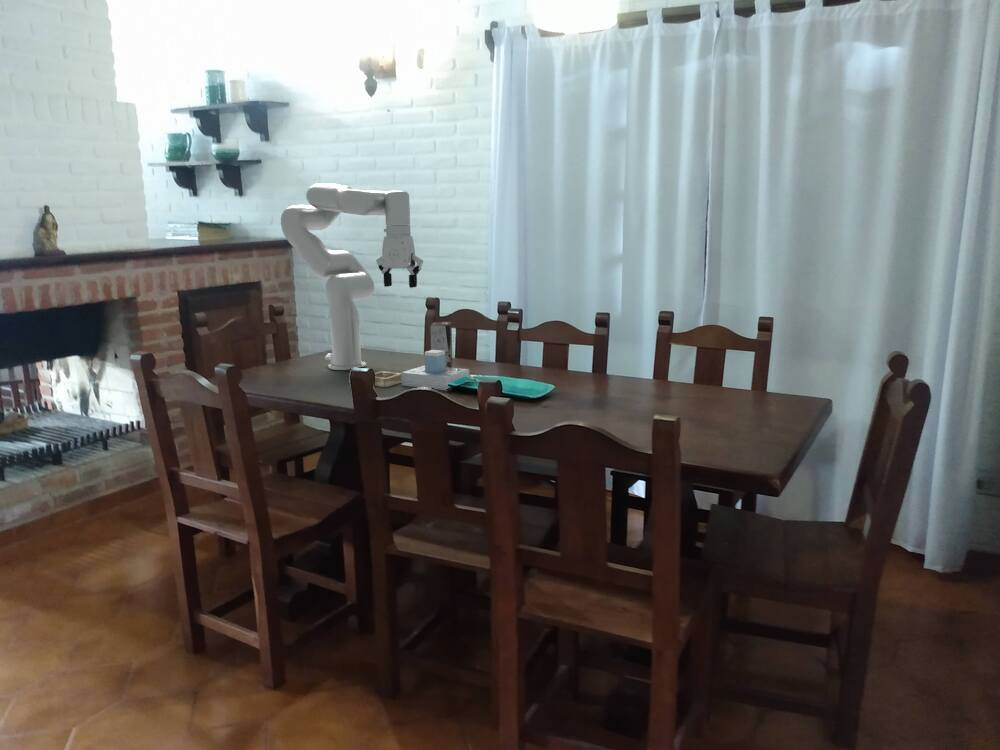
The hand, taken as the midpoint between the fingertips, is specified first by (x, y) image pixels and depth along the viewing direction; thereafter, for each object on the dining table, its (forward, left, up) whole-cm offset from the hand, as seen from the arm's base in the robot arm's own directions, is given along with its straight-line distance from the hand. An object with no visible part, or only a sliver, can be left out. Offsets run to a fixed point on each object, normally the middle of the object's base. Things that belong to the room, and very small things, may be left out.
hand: (400, 286), depth 240 cm
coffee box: (+9, +9, -28) cm, 31 cm away
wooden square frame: (+2, -13, -28) cm, 31 cm away
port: (+17, -7, -28) cm, 34 cm away
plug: (+17, -7, -27) cm, 33 cm away
